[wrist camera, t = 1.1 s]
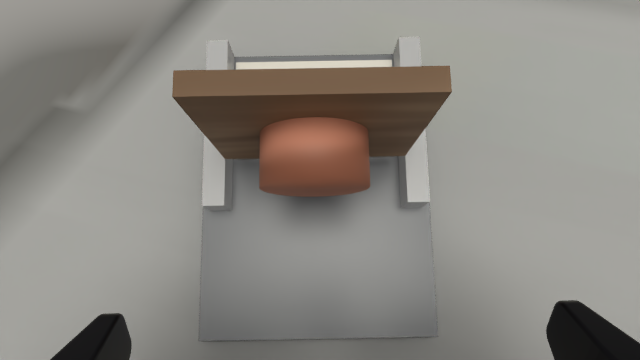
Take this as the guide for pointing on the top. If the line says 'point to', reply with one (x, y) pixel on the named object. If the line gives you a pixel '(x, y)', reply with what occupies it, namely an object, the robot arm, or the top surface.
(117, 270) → the top surface
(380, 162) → the press base
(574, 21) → the top surface
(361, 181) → the press plate
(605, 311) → the top surface
